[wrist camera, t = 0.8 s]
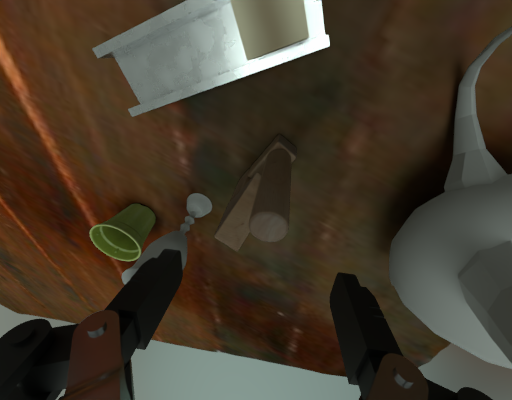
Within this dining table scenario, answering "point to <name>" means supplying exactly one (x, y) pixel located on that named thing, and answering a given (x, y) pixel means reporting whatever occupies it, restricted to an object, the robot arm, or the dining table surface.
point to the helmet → (463, 242)
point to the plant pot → (124, 232)
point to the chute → (196, 51)
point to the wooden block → (261, 198)
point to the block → (269, 25)
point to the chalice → (173, 235)
